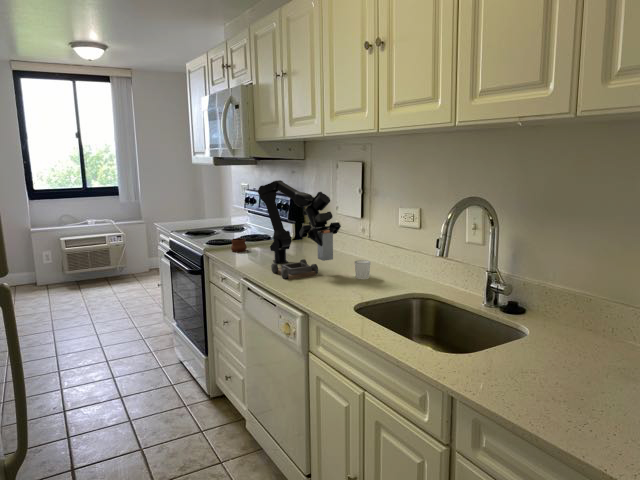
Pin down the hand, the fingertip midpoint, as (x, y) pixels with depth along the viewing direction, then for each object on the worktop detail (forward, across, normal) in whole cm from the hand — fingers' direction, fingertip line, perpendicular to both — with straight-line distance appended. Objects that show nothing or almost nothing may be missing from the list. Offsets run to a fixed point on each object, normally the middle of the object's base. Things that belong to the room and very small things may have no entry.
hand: (326, 244), depth 205 cm
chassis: (+3, -11, +16) cm, 20 cm away
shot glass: (+19, +10, 0) cm, 21 cm away
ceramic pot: (-40, -16, +61) cm, 75 cm away
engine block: (+4, 0, +6) cm, 7 cm away
